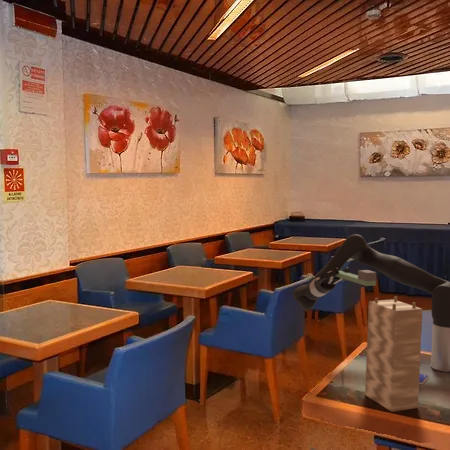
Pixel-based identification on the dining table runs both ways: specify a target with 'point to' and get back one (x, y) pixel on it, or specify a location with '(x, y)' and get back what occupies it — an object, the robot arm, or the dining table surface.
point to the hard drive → (422, 378)
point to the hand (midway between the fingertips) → (343, 270)
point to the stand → (393, 354)
